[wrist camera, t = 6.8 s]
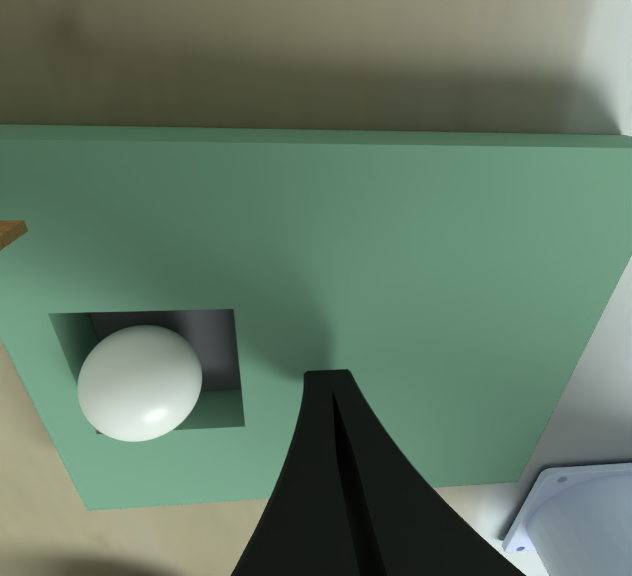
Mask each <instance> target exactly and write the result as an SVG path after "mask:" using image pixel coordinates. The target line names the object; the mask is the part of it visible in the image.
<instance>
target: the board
mask: <svg viewBox="0 0 632 576" xmlns="http://www.w3.org/2000/svg"><path fill="white" fill-rule="evenodd" d="M0 220H24V221H25V223H26V226H27V229H28V232H26V233H25V234H23V235H22V236H20V237H19V238H18V239H16V240H15V241H13V242H12V243H11V244H9V245H8V246H6V247H5V248H3V249H2V250H1V251H0V338H1V340H2V342H3V344H4V346H5V348H6V350H7V352H8V354H9V356H10V358H11V360H12V362H13V364H14V366H15V368H16V370H17V372H18V374H19V376H20V378H21V380H22V382H23V384H24V386H25V388H26V390H27V392H28V394H29V396H30V398H31V400H32V402H33V404H34V406H35V408H36V410H37V412H38V414H39V416H40V418H41V420H42V422H43V424H44V426H45V428H46V430H47V432H48V434H49V436H50V438H51V440H52V442H53V444H54V446H55V448H56V450H57V452H58V454H59V456H60V458H61V460H62V462H63V464H64V466H65V468H66V470H67V472H68V474H69V476H70V478H71V480H72V482H73V484H74V486H75V488H76V490H77V492H78V494H79V496H80V498H81V500H82V502H83V504H84V506H85V508H86V510H87V511H92V510H107V509H122V508H137V507H152V506H166V505H181V504H196V503H211V502H225V501H240V500H255V499H270V496H271V494H272V492H273V489H274V487H275V485H276V482H277V480H278V477H279V475H280V472H281V470H282V467H283V464H284V461H285V459H286V456H287V453H288V450H289V447H290V443H291V440H292V437H293V434H294V431H295V427H296V423H297V419H298V415H299V411H300V407H301V401H302V396H303V379H304V373H305V372H306V371H314V370H338V369H348V370H349V371H351V373H352V375H353V377H354V379H355V381H356V383H357V385H358V387H359V388H360V390H361V392H362V394H363V395H364V397H365V399H366V400H367V402H368V404H369V405H370V407H371V409H372V410H373V412H374V413H375V415H376V416H377V418H378V419H379V421H380V422H381V424H382V425H383V427H384V428H385V429H386V431H387V432H388V434H389V435H390V436H391V438H392V439H393V441H394V442H395V443H396V445H397V446H398V447H399V448H400V450H401V451H402V452H403V454H404V455H405V456H406V457H407V459H408V460H409V461H410V462H411V464H412V465H413V466H414V467H415V469H416V470H417V471H418V472H419V473H420V474H421V475H422V477H423V478H424V479H425V480H426V481H427V482H428V483H429V485H430V486H431V487H447V486H462V485H477V484H491V483H506V482H517V481H518V479H519V477H520V475H521V473H522V471H523V469H524V467H525V465H526V463H527V461H528V459H529V458H530V456H531V454H532V452H533V450H534V448H535V446H536V444H537V442H538V440H539V438H540V436H541V434H542V432H543V430H544V428H545V426H546V424H547V422H548V420H549V418H550V416H551V414H552V412H553V410H554V408H555V406H556V404H557V402H558V400H559V398H560V396H561V394H562V392H563V390H564V388H565V386H566V384H567V382H568V380H569V378H570V376H571V374H572V372H573V370H574V368H575V366H576V364H577V362H578V360H579V358H580V356H581V354H582V352H583V350H584V348H585V346H586V344H587V343H588V341H589V339H590V337H591V335H592V333H593V331H594V329H595V327H596V325H597V323H598V321H599V319H600V317H601V315H602V313H603V311H604V309H605V307H606V305H607V303H608V301H609V299H610V297H611V295H612V293H613V291H614V289H615V287H616V285H617V283H618V281H619V279H620V277H621V275H622V273H623V271H624V269H625V267H626V265H627V263H628V261H629V259H630V257H631V255H632V137H631V136H626V135H599V134H541V133H483V132H426V131H368V130H310V129H252V128H194V127H136V126H78V125H21V124H0ZM137 325H155V326H160V327H164V328H167V329H170V330H172V331H174V332H176V333H177V334H179V335H180V336H182V337H183V338H184V339H185V340H186V341H187V342H188V343H189V344H190V345H191V346H192V348H193V349H194V351H195V352H196V354H197V356H198V359H199V361H200V365H201V370H202V385H201V391H200V394H199V397H198V400H197V402H196V404H195V406H194V408H193V409H192V411H191V412H190V414H189V415H188V416H187V417H186V418H185V420H184V421H183V422H182V423H180V424H179V425H178V426H177V427H176V428H174V429H173V430H171V431H170V432H168V433H166V434H164V435H162V436H159V437H157V438H154V439H151V440H146V441H139V442H129V441H121V440H117V439H114V438H111V437H109V436H107V435H105V434H103V433H101V432H99V431H98V430H97V429H96V428H95V427H94V426H92V425H91V424H90V422H89V421H88V420H87V418H86V417H85V415H84V414H83V411H82V409H81V407H80V404H79V400H78V392H77V386H78V378H79V374H80V371H81V368H82V366H83V363H84V361H85V360H86V358H87V357H88V355H89V354H90V352H91V351H92V350H93V349H94V348H95V347H96V345H98V344H99V343H100V342H101V341H102V340H103V339H105V338H106V337H107V336H109V335H111V334H112V333H114V332H117V331H119V330H121V329H124V328H127V327H131V326H137Z"/></svg>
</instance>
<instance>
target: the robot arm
mask: <svg viewBox="0 0 632 576" xmlns="http://www.w3.org/2000/svg"><path fill="white" fill-rule="evenodd" d="M502 547H503V549H504V551H505V552H506V553H518V552H530V551H537V553H538V555H539V557H540V559H541V561H542V563H543V565H544V567H545V569H546V571H547V572H548V574H549V576H632V463H620V464H605V465H589V466H574V467H558V468H548V469H546V470H544V471H542V472H541V473H540V475H539V477H538V479H537V480H536V482H535V484H534V486H533V488H532V490H531V491H530V493H529V495H528V497H527V499H526V500H525V502H524V504H523V506H522V508H521V510H520V511H519V513H518V515H517V517H516V519H515V521H514V522H513V524H512V526H511V528H510V530H509V532H508V533H507V535H506V537H505V539H504V541H503V543H502ZM231 576H526V575H525V574H524V573H522V572H521V571H520V570H519V569H518V568H516V567H515V566H514V565H513V564H512V563H511V562H509V561H508V560H507V559H506V558H505V557H503V556H502V555H501V554H500V553H499V552H498V551H497V550H496V549H494V548H493V547H492V546H491V545H490V544H489V543H488V542H487V541H486V540H484V539H483V538H482V537H481V536H480V535H479V534H478V533H477V532H476V531H475V530H474V529H473V528H472V527H471V526H470V525H469V524H468V523H467V522H466V521H465V520H464V519H463V518H461V517H460V516H459V515H458V514H457V513H456V512H455V511H454V510H453V509H452V508H451V507H450V506H449V505H448V504H447V503H446V502H445V501H444V500H443V499H442V498H441V496H440V495H439V494H438V493H437V492H436V491H435V490H434V489H433V488H432V487H431V486H430V485H429V483H428V482H427V481H426V480H425V479H424V478H423V477H422V475H421V474H420V473H419V472H418V471H417V470H416V469H415V467H414V466H413V465H412V464H411V462H410V461H409V460H408V459H407V457H406V456H405V455H404V454H403V452H402V451H401V450H400V448H399V447H398V446H397V445H396V443H395V442H394V441H393V439H392V438H391V436H390V435H389V434H388V432H387V431H386V429H385V428H384V427H383V425H382V424H381V422H380V421H379V419H378V418H377V416H376V415H375V413H374V412H373V410H372V409H371V407H370V405H369V404H368V402H367V400H366V399H365V397H364V395H363V394H362V392H361V390H360V388H359V387H358V385H357V383H356V381H355V379H354V377H353V375H352V373H351V371H349V370H348V369H338V370H314V371H306V372H305V373H304V379H303V396H302V401H301V407H300V411H299V415H298V419H297V423H296V427H295V431H294V434H293V437H292V440H291V443H290V447H289V450H288V453H287V456H286V459H285V461H284V464H283V467H282V470H281V472H280V475H279V477H278V480H277V482H276V485H275V487H274V489H273V492H272V494H271V496H270V499H269V501H268V503H267V505H266V507H265V510H264V512H263V514H262V516H261V518H260V520H259V523H258V525H257V527H256V529H255V531H254V533H253V535H252V537H251V538H250V540H249V542H248V544H247V546H246V548H245V550H244V552H243V554H242V556H241V557H240V559H239V561H238V563H237V565H236V567H235V569H234V571H233V572H232V574H231Z"/></svg>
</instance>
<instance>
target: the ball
mask: <svg viewBox="0 0 632 576" xmlns="http://www.w3.org/2000/svg"><path fill="white" fill-rule="evenodd" d="M201 385H202V370H201V365H200V361H199V359H198V356H197V354H196V352H195V351H194V349H193V348H192V346H191V345H190V344H189V343H188V342H187V341H186V340H185V339H184V338H183V337H182V336H180V335H179V334H177V333H176V332H174V331H172V330H170V329H167V328H164V327H160V326H155V325H137V326H131V327H127V328H124V329H121V330H119V331H117V332H114V333H112V334H111V335H109V336H107V337H106V338H105V339H103V340H102V341H101V342H100V343H99V344H98V345H96V347H95V348H94V349H93V350H92V351H91V352H90V354H89V355H88V357H87V358H86V360H85V361H84V363H83V366H82V368H81V371H80V374H79V378H78V386H77V392H78V400H79V404H80V407H81V409H82V411H83V414H84V415H85V417H86V418H87V420H88V421H89V422H90V424H91V425H92V426H94V427H95V428H96V429H97V430H98V431H99V432H101V433H103V434H105V435H107V436H109V437H111V438H114V439H117V440H121V441H129V442H139V441H146V440H151V439H154V438H157V437H159V436H162V435H164V434H166V433H168V432H170V431H171V430H173V429H174V428H176V427H177V426H178V425H179V424H180V423H182V422H183V421H184V420H185V418H186V417H187V416H188V415H189V414H190V412H191V411H192V409H193V408H194V406H195V404H196V402H197V400H198V397H199V394H200V391H201Z"/></svg>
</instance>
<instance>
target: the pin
mask: <svg viewBox="0 0 632 576" xmlns="http://www.w3.org/2000/svg"><path fill="white" fill-rule="evenodd" d="M26 232H28V229H27V226H26V223H25V221H24V220H0V251H1V250H2V249H3V248H5V247H6V246H8V245H9V244H11V243H12V242H13V241H15V240H16V239H18V238H19V237H20V236H22V235H23V234H25V233H26Z"/></svg>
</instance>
